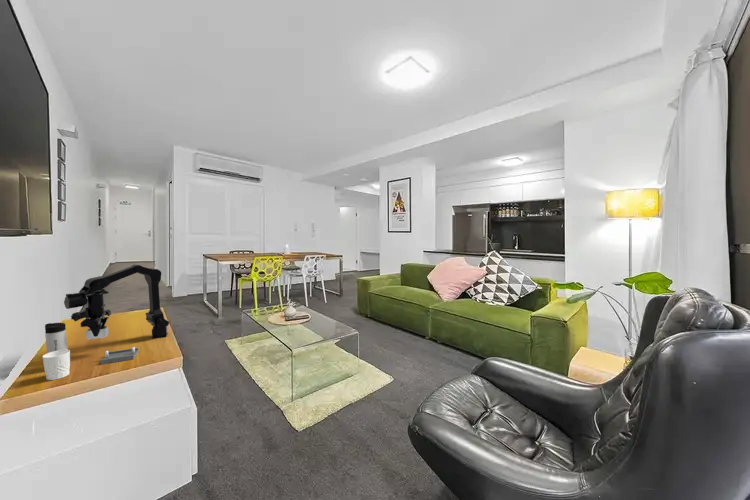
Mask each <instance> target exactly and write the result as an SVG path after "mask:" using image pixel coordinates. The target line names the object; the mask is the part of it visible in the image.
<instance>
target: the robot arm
mask: <svg viewBox="0 0 750 500" xmlns="http://www.w3.org/2000/svg"><path fill="white" fill-rule="evenodd" d="M134 274H140V275H143V276H144V279H145V280H144V281H145V282H146V283H147V285H148V300H149V310H148V312H145V320H146V321H147V323H149V324H150V326H152V329H151V336H152V339H158V338H166V337H167V336H168V335H169V332H168V326H169V324H170V321H168V320H167V319H165V316H164V312H163V311H162V309H161V302H160V301H161V300H160V286H159V284H160V282H161V279H162V271H161V270H160V269H157V268H152V267H151V268H148V267H145V266H142V265H139V264H132V265H130V266H127V267H125V268H123V269H120V270H117V271H115V272H111V273H109V274H106V275H101V276H100V275H99V276H95V277H90V278H88V279H86V280H85V282H84V285H83V286H82V287H81V289H80V290H79V291H78V292H75V293H74V292H73V293H65V298H64V301H63V305H64V307H65V309H66V310H70V309H75V308H80V307H84V306H85V305H87V307H85V309H84V310H80V311H77V312H73V313H72V314H71V316H70V319H71V321H72V320H73V321H74V322H77V321H79V320H82V321H81V322H80V328H88V329H89V328H90V329H91V331H92V333H93V335H94V337H97V336H98V334H99V331H100V328H101V327H102V326H106V324H107V321H108V320H109V317H110V316H111V315H112V311H111V310H109V309H105V307H106V304H105V303H104V295H106V294H109V293H110V292H109V291H107V290H106V289H105V288H107V287H108V286H110V285H111V284H112V283H114V282H117V281H120V280H122V279H124V278H125V279H126V278H127V277H130V276H132V275H134ZM106 316H107V317H106ZM84 318H85V319H84Z"/></svg>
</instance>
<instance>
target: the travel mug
mask: <svg viewBox="0 0 750 500" xmlns="http://www.w3.org/2000/svg"><path fill="white" fill-rule="evenodd" d="M44 330H45V332H44V333H45V346H46V354H47V353H50V352H53V351H58V350H68V340H67V338H68V337H67V328H66V323H64V322H53V323H52V322H50V323H49V322H48V323H46V324H44Z"/></svg>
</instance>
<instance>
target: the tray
mask: <svg viewBox="0 0 750 500" xmlns="http://www.w3.org/2000/svg"><path fill="white" fill-rule="evenodd" d="M138 353H139V347H135V346H132V347H131V348H127V349H126V348H125V349H120V350H112V351H109V350H104V357H103V358H101V359H100V365H105V364H111V363H117V362H118V363H119V362H125V361H131V360H134V359H135V358H136V356H137V355H138Z"/></svg>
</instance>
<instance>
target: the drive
mask: <svg viewBox="0 0 750 500" xmlns="http://www.w3.org/2000/svg"><path fill="white" fill-rule="evenodd" d="M85 334H86V335H85V336H86V340H87V341H88V340H96V339H103V338H107V336H108V335H109V325H108V326H107V325H105V326H102V327H101V328H100V331H99V334H98V336H97V337H94V335H93V333H92V331H91V329H90V328H89V327H88V329H87V330H86V331H85Z"/></svg>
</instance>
